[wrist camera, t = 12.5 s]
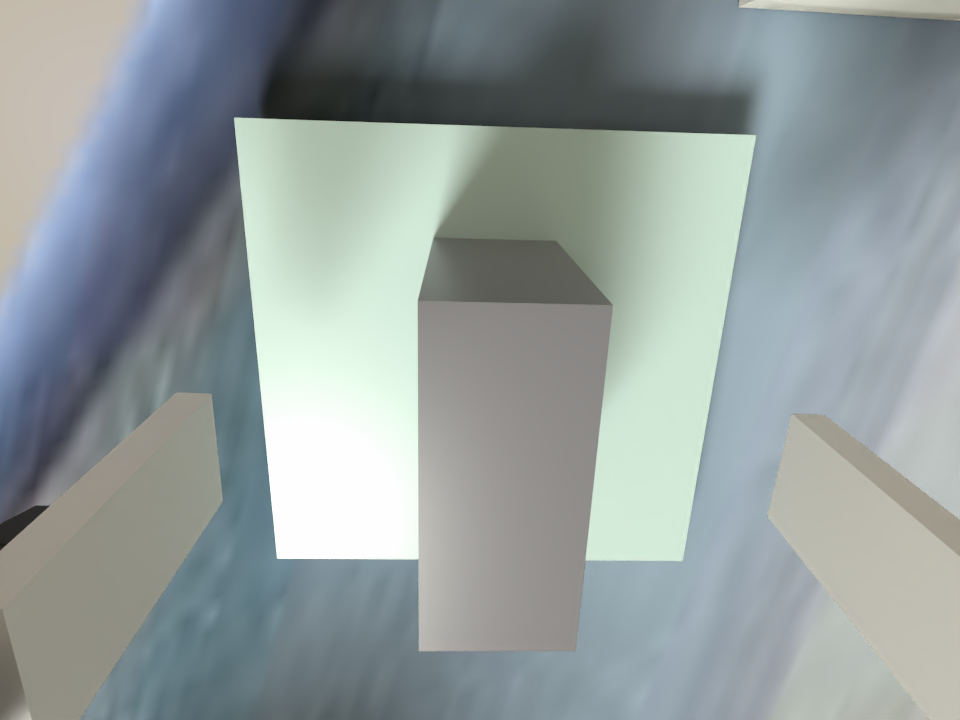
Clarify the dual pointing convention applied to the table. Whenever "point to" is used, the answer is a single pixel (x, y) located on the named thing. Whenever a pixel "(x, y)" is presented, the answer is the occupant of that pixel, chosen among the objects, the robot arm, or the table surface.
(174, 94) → the table surface
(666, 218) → the lid
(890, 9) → the crate
